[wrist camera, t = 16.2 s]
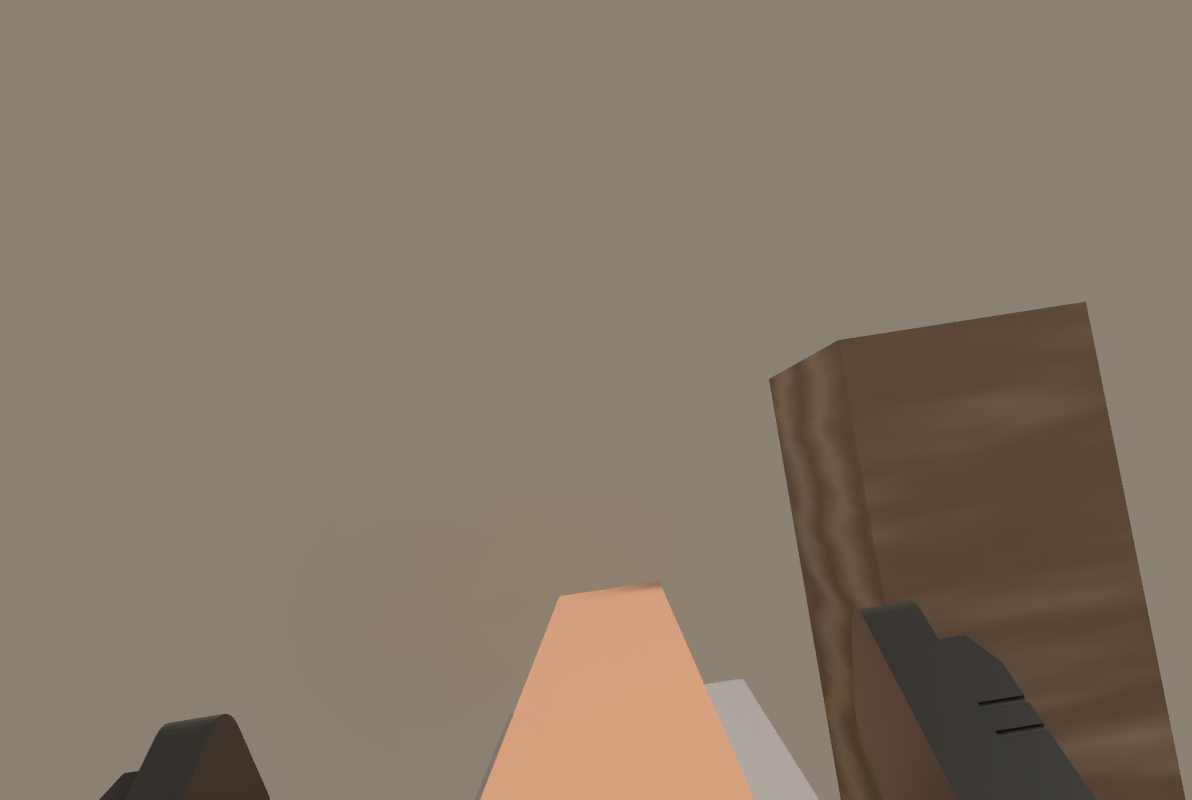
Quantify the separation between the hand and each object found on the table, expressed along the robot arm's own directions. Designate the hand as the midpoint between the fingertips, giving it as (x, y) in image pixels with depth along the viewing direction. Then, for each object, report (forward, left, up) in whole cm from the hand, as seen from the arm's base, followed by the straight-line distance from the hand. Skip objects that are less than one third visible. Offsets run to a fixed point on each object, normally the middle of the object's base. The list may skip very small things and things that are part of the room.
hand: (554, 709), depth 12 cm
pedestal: (-19, -24, -26) cm, 40 cm away
